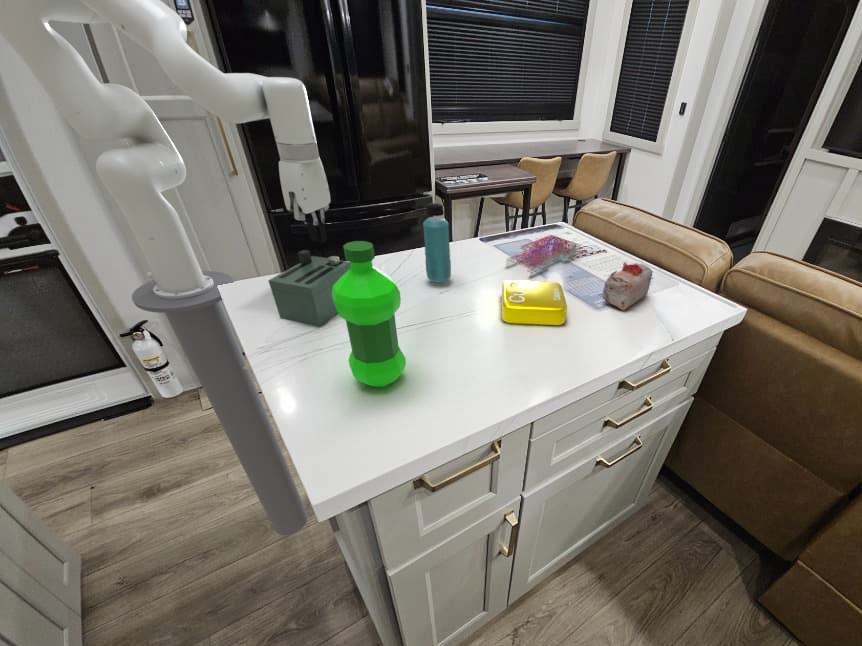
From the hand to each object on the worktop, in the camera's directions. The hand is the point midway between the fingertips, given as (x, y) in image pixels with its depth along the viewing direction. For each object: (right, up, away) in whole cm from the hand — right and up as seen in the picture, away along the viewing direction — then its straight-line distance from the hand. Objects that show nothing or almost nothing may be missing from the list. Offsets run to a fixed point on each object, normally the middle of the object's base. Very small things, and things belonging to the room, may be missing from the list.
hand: (319, 240), depth 97 cm
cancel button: (+4, -6, -1) cm, 8 cm away
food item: (+75, -12, +13) cm, 77 cm away
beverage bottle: (+25, -6, +15) cm, 30 cm away
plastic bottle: (+20, -33, -19) cm, 43 cm away
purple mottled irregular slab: (+55, +5, +33) cm, 64 cm away
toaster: (0, -16, 0) cm, 16 cm away
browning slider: (-2, -6, -3) cm, 7 cm away
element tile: (+50, -15, +6) cm, 53 cm away
